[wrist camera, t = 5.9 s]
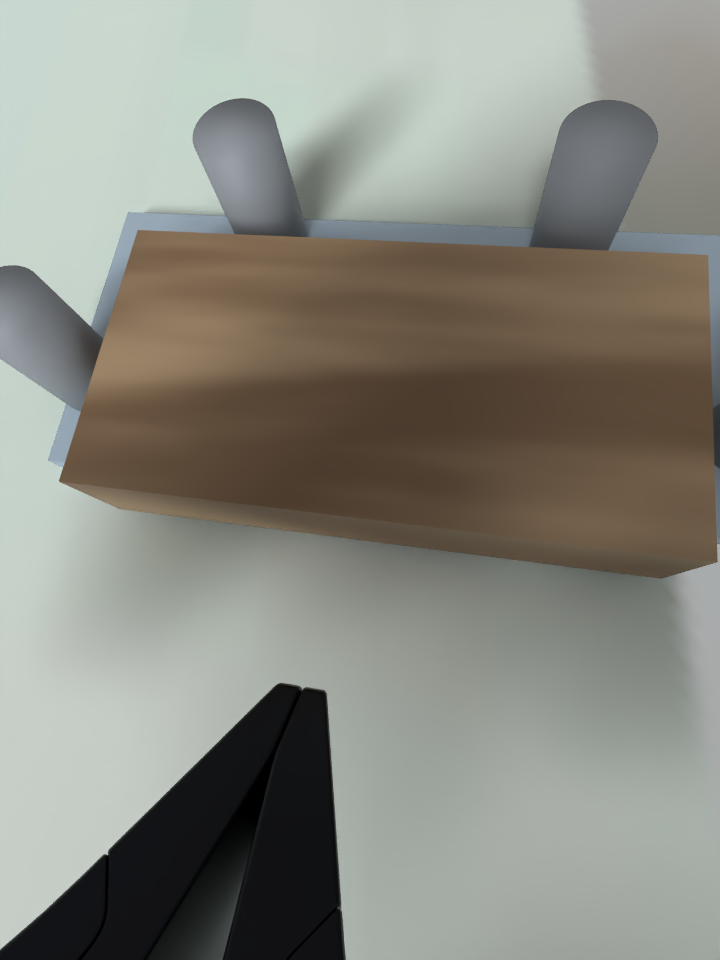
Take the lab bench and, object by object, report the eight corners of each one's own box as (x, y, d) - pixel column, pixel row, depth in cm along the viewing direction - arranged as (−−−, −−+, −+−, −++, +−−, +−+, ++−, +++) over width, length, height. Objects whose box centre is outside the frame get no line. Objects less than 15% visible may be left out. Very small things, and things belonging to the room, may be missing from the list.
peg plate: (784, 551, 15) (948, 508, 10) (49, 465, 19) (-80, 402, 14) (765, 245, 18) (886, 101, 13) (127, 219, 21) (43, 97, 17)
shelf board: (717, 562, 12) (708, 254, 14) (58, 481, 14) (137, 229, 17) (661, 578, 15) (660, 320, 17) (119, 508, 17) (179, 291, 19)
